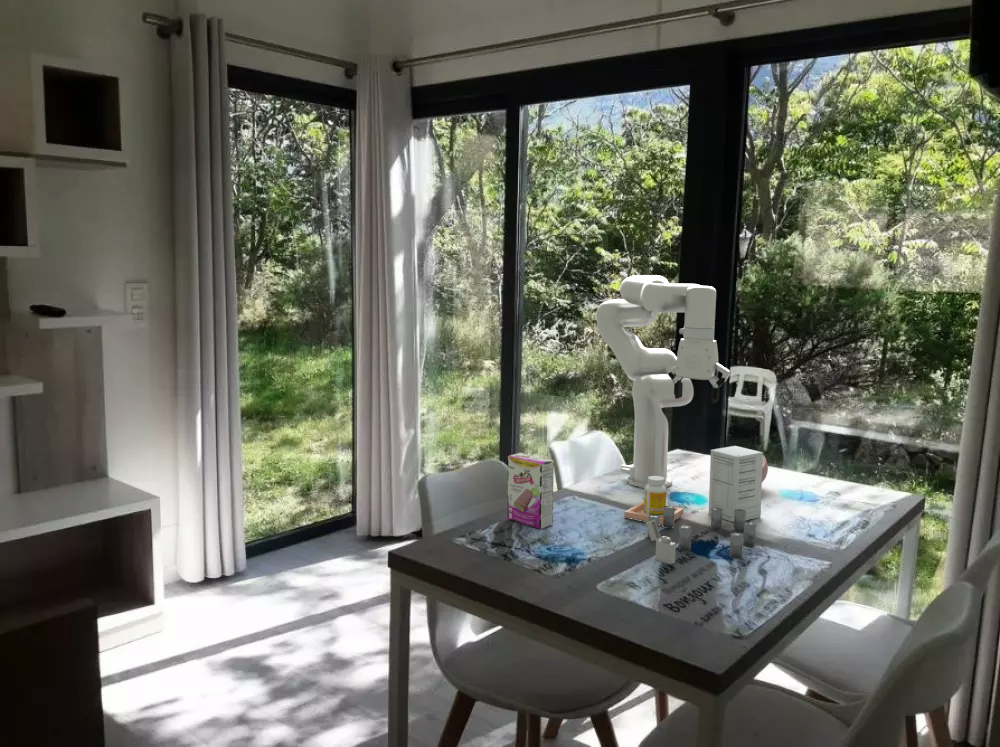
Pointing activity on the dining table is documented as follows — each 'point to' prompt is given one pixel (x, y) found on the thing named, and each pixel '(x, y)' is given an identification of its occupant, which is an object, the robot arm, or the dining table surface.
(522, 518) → the candy bar box
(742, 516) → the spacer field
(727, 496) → the supplement box
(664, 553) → the lighter
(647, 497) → the supplement bottle
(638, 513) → the dish
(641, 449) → the robot arm
